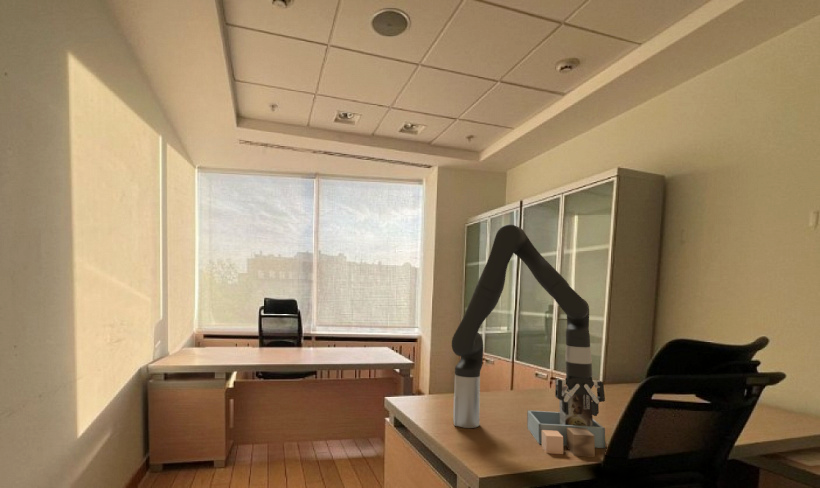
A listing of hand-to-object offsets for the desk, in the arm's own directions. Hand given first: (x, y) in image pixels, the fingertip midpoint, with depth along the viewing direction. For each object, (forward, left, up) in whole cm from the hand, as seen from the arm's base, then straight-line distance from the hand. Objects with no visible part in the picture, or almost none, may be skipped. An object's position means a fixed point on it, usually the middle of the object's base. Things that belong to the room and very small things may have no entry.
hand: (580, 414), depth 116 cm
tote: (-1, +12, -11) cm, 16 cm away
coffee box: (+3, +12, -11) cm, 16 cm away
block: (0, 0, -11) cm, 11 cm away
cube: (-9, 0, -11) cm, 14 cm away
